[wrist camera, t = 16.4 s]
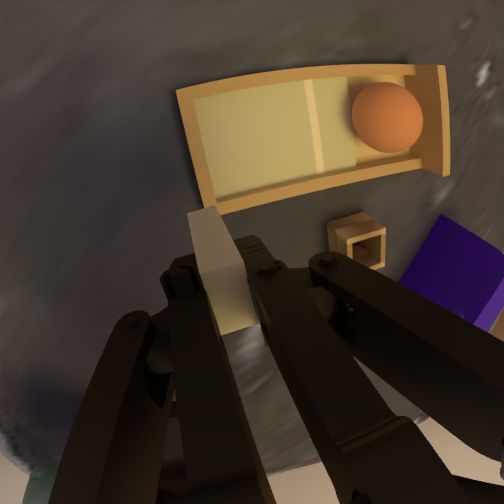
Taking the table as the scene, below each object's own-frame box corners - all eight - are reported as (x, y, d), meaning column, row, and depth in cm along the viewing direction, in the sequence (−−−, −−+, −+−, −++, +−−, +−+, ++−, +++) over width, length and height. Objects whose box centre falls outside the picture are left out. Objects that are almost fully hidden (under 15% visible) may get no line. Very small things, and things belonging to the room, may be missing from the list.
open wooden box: (329, 258, 31) (348, 278, 28) (326, 221, 29) (346, 239, 26) (363, 247, 32) (384, 266, 28) (362, 211, 30) (385, 227, 26)
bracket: (392, 289, 36) (451, 352, 26) (440, 213, 32) (513, 260, 22) (453, 318, 43) (497, 363, 33) (489, 262, 40) (540, 301, 29)
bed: (204, 210, 26) (211, 234, 22) (175, 91, 21) (175, 88, 17) (416, 161, 28) (449, 174, 24) (408, 65, 24) (444, 65, 19)
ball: (437, 149, 23) (382, 143, 27) (430, 80, 20) (374, 82, 25) (402, 165, 20) (342, 156, 25) (393, 81, 17) (330, 86, 22)
